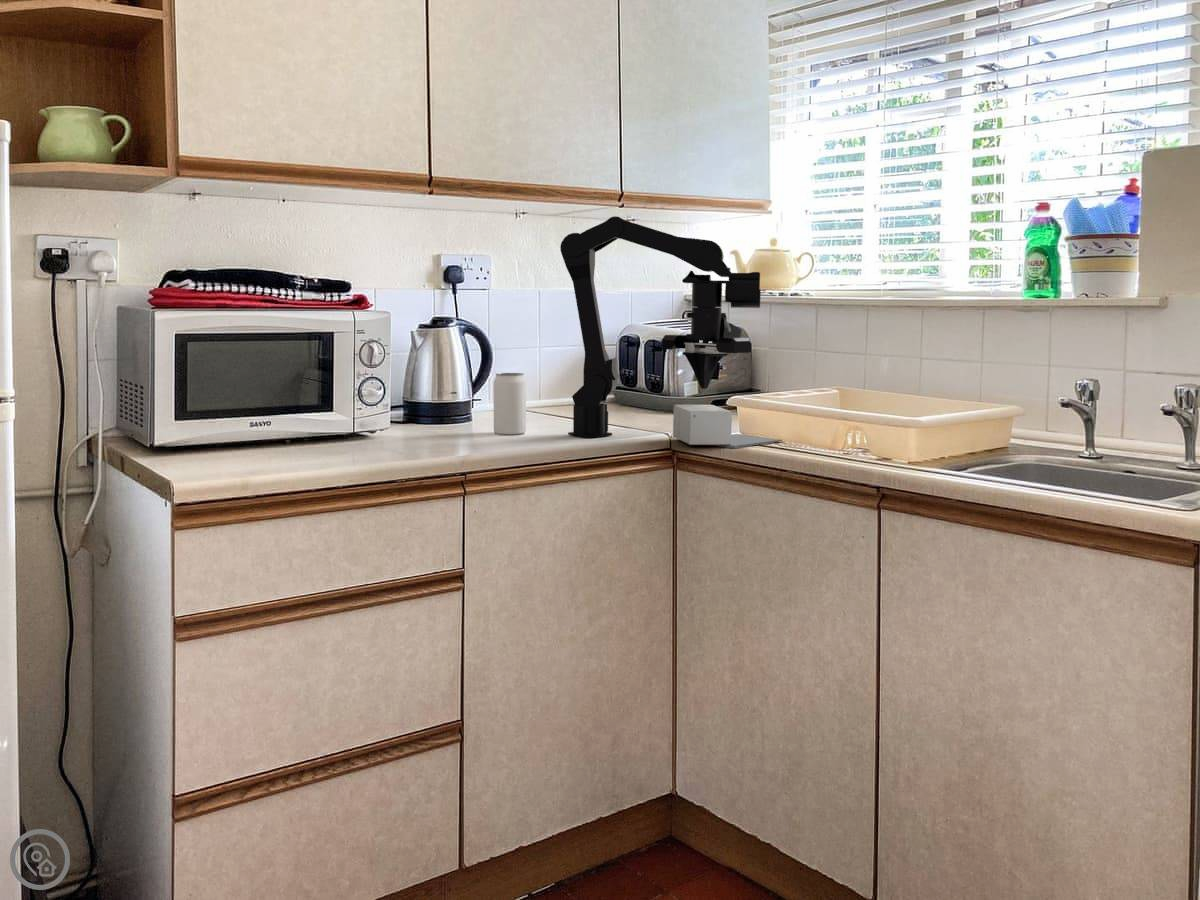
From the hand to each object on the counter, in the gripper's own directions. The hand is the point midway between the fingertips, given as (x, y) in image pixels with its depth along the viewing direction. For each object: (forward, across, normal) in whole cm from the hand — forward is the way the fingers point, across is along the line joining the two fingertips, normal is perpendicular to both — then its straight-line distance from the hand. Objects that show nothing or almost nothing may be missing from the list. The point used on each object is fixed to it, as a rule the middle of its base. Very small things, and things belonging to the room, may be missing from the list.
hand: (704, 388), depth 207 cm
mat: (+10, -8, -1) cm, 12 cm away
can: (+10, +30, +24) cm, 40 cm away
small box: (+6, +2, +2) cm, 7 cm away
